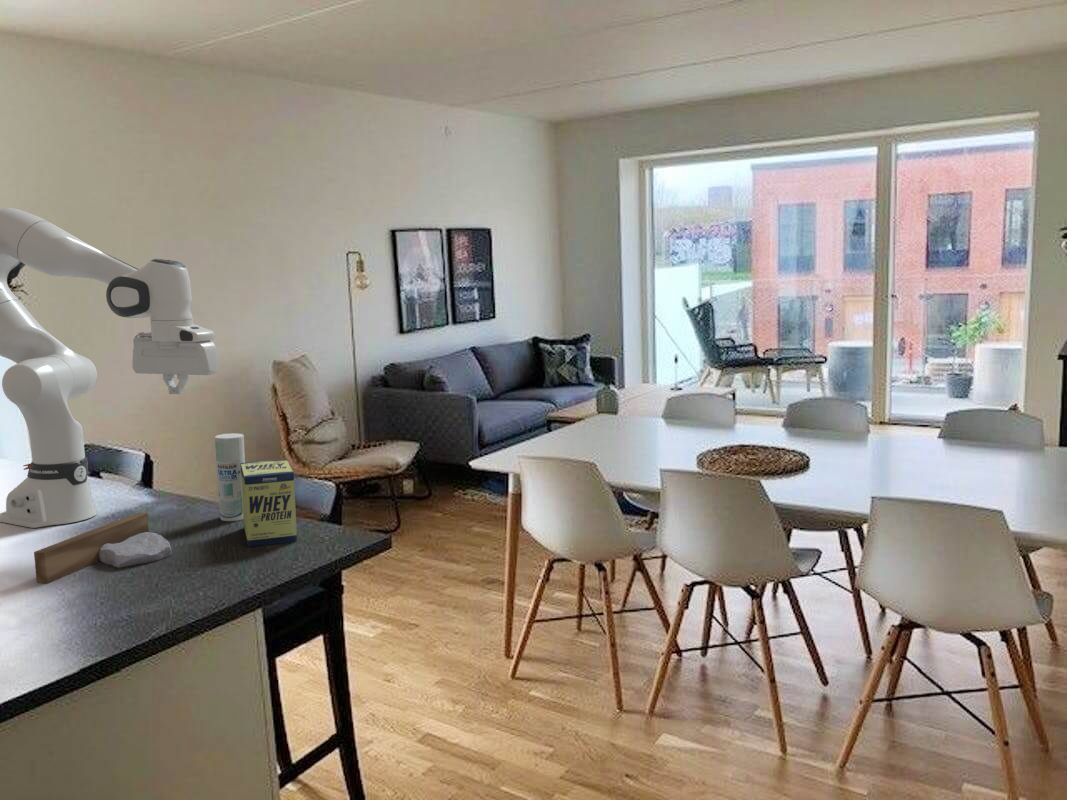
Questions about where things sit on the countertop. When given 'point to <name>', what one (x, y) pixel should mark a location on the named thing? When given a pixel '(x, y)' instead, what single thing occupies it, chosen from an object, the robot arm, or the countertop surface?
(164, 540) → the stone block
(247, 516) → the protein box
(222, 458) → the spray can
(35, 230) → the robot arm
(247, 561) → the countertop surface
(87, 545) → the walnut board
